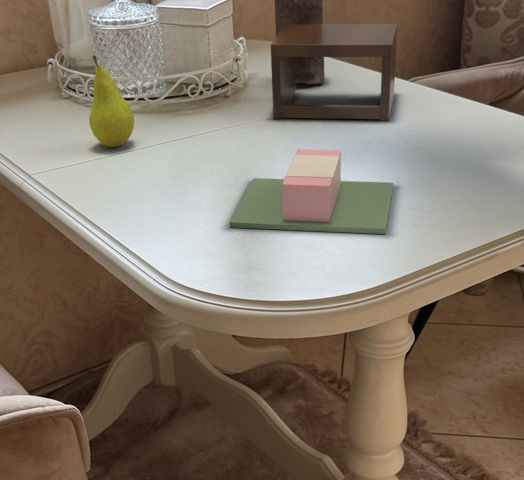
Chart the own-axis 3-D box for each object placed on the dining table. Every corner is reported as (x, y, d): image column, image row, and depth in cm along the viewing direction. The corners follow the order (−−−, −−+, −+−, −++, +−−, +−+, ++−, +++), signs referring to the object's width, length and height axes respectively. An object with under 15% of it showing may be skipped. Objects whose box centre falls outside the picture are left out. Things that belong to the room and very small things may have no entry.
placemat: (392, 187, 89) (393, 182, 88) (385, 234, 79) (385, 228, 79) (253, 182, 92) (253, 178, 91) (230, 227, 82) (229, 222, 82)
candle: (290, 92, 121) (286, -53, 110) (268, 81, 126) (262, -58, 115) (333, 83, 124) (333, -59, 112) (309, 73, 129) (307, -64, 118)
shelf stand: (394, 95, 117) (397, 23, 112) (388, 121, 108) (391, 44, 102) (287, 93, 120) (285, 24, 115) (273, 119, 111) (270, 44, 105)
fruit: (133, 135, 107) (120, 43, 101) (140, 149, 103) (127, 54, 96) (91, 141, 106) (75, 48, 100) (96, 156, 102) (80, 59, 95)
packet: (341, 184, 89) (341, 149, 86) (330, 222, 80) (330, 184, 78) (297, 183, 89) (297, 148, 87) (282, 220, 81) (281, 183, 79)
